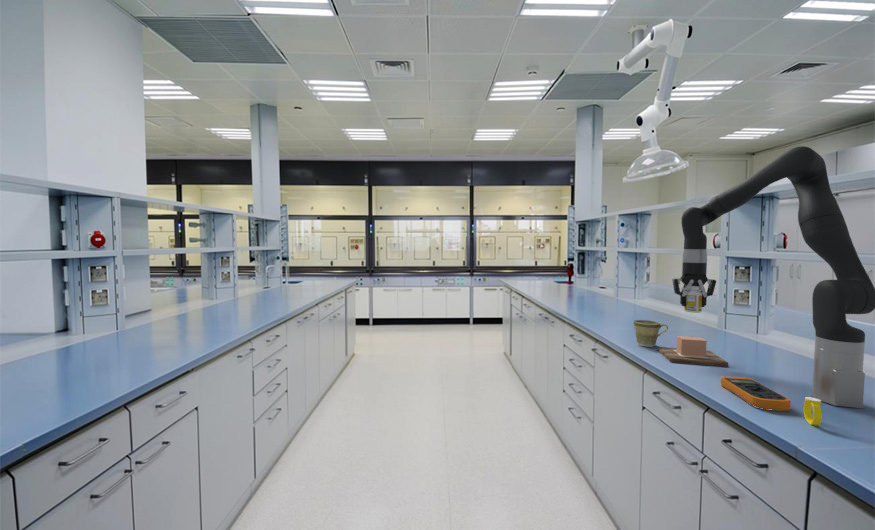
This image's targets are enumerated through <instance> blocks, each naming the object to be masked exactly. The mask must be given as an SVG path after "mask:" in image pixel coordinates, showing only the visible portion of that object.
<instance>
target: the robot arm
mask: <svg viewBox="0 0 875 530" xmlns="http://www.w3.org/2000/svg"><path fill="white" fill-rule="evenodd" d="M827 171H828V170H827V166H826V162H825V160H824V158H823V157H822V156H821V155H820V154H819V153H818V152H816V151H815V150H814V149H813V148H811V147H808V146H805V145H804V146H795V147H792V148H790V149H788V150H787V151H785V152H783V153H781V154H780V155H778V157H777V156H776V157H775V158H774V159H773V160H772V161H770V162H769V163H767V164H766V165H765V166H763V167H762V168H760V169H759V170H757V171H756V172H754V173H753V174H751V175H750V176H748V177H747V178H746V179H744V180H742V181H741V182H739V183H738V184H737V183H736V185H734V186H732V187H730V188H728V189H727V190H725V191H723V192H720V193H719V194H717V195H715V196H714V197H712V198H710V200H709V202H708V203H706V204H704V205H703V206H701V207H695V206H693V207H688V208H686V210H684V211H683V212H682V215H681V227H682V232H683V236H684V237H683V238H684V239H683V251H682V264H681V265H682V271H681V277H680V278H672V280H671V281H672V286H673V291H674V294H675V295H678V296H679V297H680V299H679V302H680V305H681V306H682V307H684V306H686V297H685V296H686V294H687V292H688V291H689V289H690V287H691V286H699V287H700V290H699V292H701V293H702V308H705V307H706V306H707V301H708V300H707V298H708V297H712V296H713V295H714V292H715V289H716V285H717V279H710V278H708V277H707V272H708V271H707V270H708V269H707V265H708V254H707V253H708V252H707V251H708V250H707V247H708V245H707V243H708V242H707V241H708V239H707V237H708V236H707V235H706V234H705V233H704V227H705V226H706V225H708V224H711V223H712V222H714V221H717V219H718V218H721V217H722V216H724V215H726V214H727V213H730V212H732V211H734V210H735V209H738V208H740V207H742V206H744V205H745V204H747V203H748V202H749V201H751V200H752V199H753V198H754V197H756V196H757V195H758V194H759V193H760V192H761V191H763V190H764V189H765V188H767V187H768V186H770V185H772V184H773V183H776V182H778V181H781V180H784V179H786V178H787V179H788V180H789V181H790V183H791V185H792V186H793V188H794V190H795V193H796V196H797V198H798V211H797V219H798V226H799V228H800V233H801V235H802V238H803V240H804V241H803V242H805V244H806V246H808V247H809V248H810V249H811V250H812V251H813V252H814V253H815V254H816V255H818V256H819V257H820V258H821V259H822V260H823V261H825V262H826V263H827V264H828V265H829V266H830V268H831V269H832V272H833V273H834V275H835V277H836V279H824V280H822V281H821V280H820V281H819V282H818V283H817V284H816V285H815V287H814V289H813V292H812V304H811V306H812V324H813V328H814V331H815V332H814V333H815V335H814V336H815V338H814V339H815V340H814V352H813V353H814V354H813V356H814V357H813V372H812V389H811V397H812V398H816V399H819V400H821V402H823V403H827V404H830V405H831V406H835V407H844V408H853V409H855V408H856V409H864V395H865V394H864V393H865V378H866V377H865V376H866V373H865V372H864V360H865V357H864V356H865V345H866V344H865V343H866V342H865V340H866V333H865V331H864V330H862V329H860V328H857V327H855V326H852V325H851V324H849V323H848V322H847V315H867V314H870V313H872V312H873V311H875V286H874V284H873V282H872V280H871V278H870V277H869V275H868V273H867V271H866V269H865V267H864V265H863V263H862V261H861V259H860V257H859V255H858V252H857V251H856V250H857V249H856V248H855V246H854V243H853V241H852V238H851V235H850V232H849V228H848V226H847V222H846V220H845V218H844V215H843V213H842V211H841V208H840V206H839V204H838V202H837V199H836V198H835V196H834V194H833V192H832V189H831V187H830V183H829V178H828V177H829V176H828V172H827ZM681 282H682V284H683V286H682V288H681V290H680V284H681ZM706 283H707V285H708V287H707V290H706V289H705V286H704V285H705V284H706Z"/></svg>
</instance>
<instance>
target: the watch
mask: <svg viewBox="0 0 875 530" xmlns="http://www.w3.org/2000/svg"><path fill="white" fill-rule="evenodd" d="M821 404H822V401H821V400H819V399H816V398H814V397H813V396H805V397H804V402H803V415H804V419H805V421H806V422H808V424H809V425H810V426H815V427H819V426H820V425H821V422H822V418H823V414H822V412H823V411H822V408H821V407H822V406H821ZM812 412H813V414H812Z"/></svg>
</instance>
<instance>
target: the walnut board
mask: <svg viewBox="0 0 875 530" xmlns="http://www.w3.org/2000/svg"><path fill="white" fill-rule="evenodd" d="M657 351H658V353H660V354H661V355H662V356H663V357H664V359H666V360H667V361H668V360H669V361H670V363H675V362H676V363H677V364H688V365H689V364H690V365H700V366H701V365H702V366H712V365H714V367H725V368H726V367H729V362H728V361H726V360H725V359H723V358H722V357H720V356H719V355H717V354H716V353H714V352H713V351H711V350H709V349H708V350H707V349H706V357H700V356H687V355H680V354H679V353H678V352H677V351H676V347H665V346H658V347H657ZM669 361H668V362H669ZM676 363H675V364H676Z"/></svg>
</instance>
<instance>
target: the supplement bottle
mask: <svg viewBox="0 0 875 530" xmlns="http://www.w3.org/2000/svg"><path fill="white" fill-rule="evenodd" d="M699 290H700V287H699V286H691V287H690V289H689V291H688V292H687V294H686V296H685V297H686V306H683V307H684V309H683V310H684V312H687V313H697V314H698V313H702V309H703V307H702V293H701V292H699Z"/></svg>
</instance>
